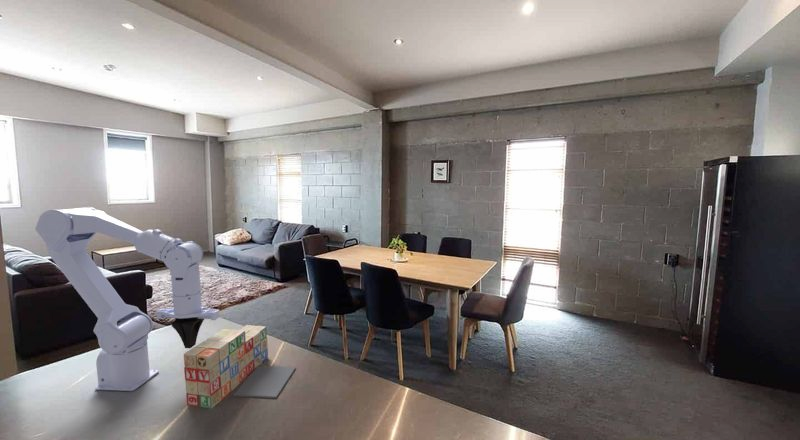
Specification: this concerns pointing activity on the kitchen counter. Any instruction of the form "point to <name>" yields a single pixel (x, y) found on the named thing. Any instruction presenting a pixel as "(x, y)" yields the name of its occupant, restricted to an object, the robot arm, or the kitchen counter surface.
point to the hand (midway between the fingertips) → (190, 346)
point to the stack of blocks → (223, 363)
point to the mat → (265, 382)
